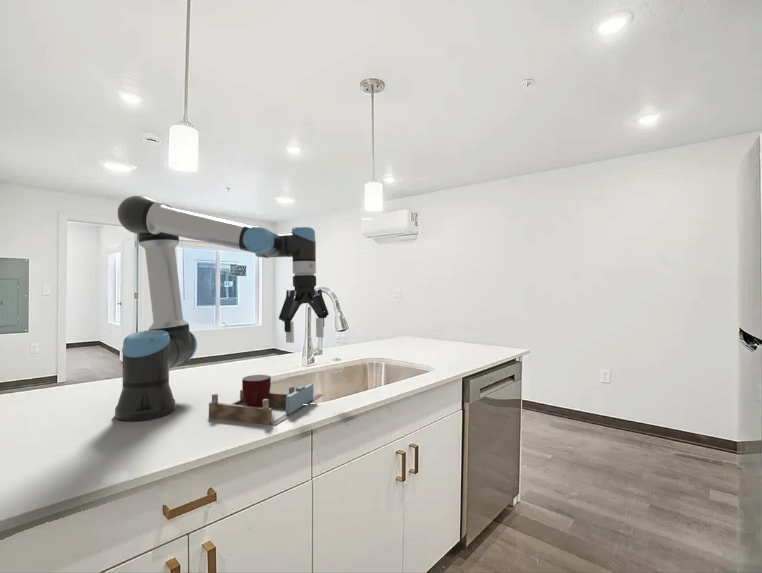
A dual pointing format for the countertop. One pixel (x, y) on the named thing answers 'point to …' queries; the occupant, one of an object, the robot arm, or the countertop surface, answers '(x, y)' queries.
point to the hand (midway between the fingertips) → (305, 339)
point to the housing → (253, 409)
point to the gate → (299, 398)
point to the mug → (256, 389)
